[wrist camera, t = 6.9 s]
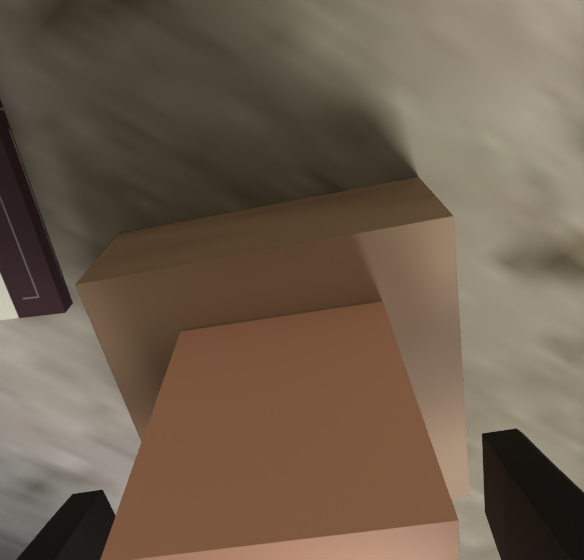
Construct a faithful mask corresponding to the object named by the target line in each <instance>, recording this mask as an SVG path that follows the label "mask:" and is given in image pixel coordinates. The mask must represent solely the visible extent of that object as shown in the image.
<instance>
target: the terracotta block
mask: <svg viewBox="0 0 584 560" xmlns="http://www.w3.org/2000/svg"><path fill="white" fill-rule="evenodd" d="M100 560H460V550H459V521H458V518H457V515H456V512H455V509H454V506H453V503H452V500H451V497H450V495H449V492H448V489H447V486H446V483H445V480H444V477H443V474H442V471H441V469H440V466H439V463H438V460H437V457H436V454H435V451H434V448H433V445H432V443H431V440H430V437H429V434H428V431H427V428H426V425H425V422H424V420H423V417H422V414H421V411H420V408H419V405H418V402H417V399H416V396H415V394H414V391H413V388H412V385H411V382H410V379H409V376H408V373H407V370H406V368H405V365H404V362H403V359H402V356H401V353H400V350H399V347H398V345H397V342H396V339H395V336H394V333H393V330H392V327H391V324H390V321H389V319H388V316H387V313H386V310H385V307H384V304H383V301H381V302H374V303H367V304H361V305H354V306H347V307H340V308H334V309H327V310H320V311H314V312H307V313H300V314H294V315H287V316H280V317H273V318H267V319H260V320H253V321H247V322H240V323H233V324H227V325H220V326H213V327H206V328H200V329H193V330H186V331H180V334H179V337H178V340H177V343H176V345H175V348H174V351H173V354H172V357H171V360H170V363H169V365H168V368H167V371H166V374H165V377H164V380H163V383H162V385H161V388H160V391H159V394H158V397H157V400H156V403H155V405H154V408H153V411H152V414H151V417H150V420H149V422H148V425H147V428H146V431H145V434H144V437H143V440H142V442H141V445H140V448H139V451H138V454H137V457H136V460H135V462H134V465H133V468H132V471H131V474H130V477H129V479H128V482H127V485H126V488H125V491H124V494H123V497H122V499H121V502H120V505H119V508H118V511H117V514H116V517H115V519H114V522H113V525H112V528H111V531H110V534H109V536H108V539H107V542H106V545H105V548H104V551H103V554H102V556H101V559H100Z"/></svg>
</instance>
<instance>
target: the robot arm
mask: <svg viewBox="0 0 584 560" xmlns="http://www.w3.org/2000/svg"><path fill="white" fill-rule="evenodd" d="M482 445H483V472H484V498H485V513H486V516H487V519H488V522H489V525H490V528H491V531H492V534H493V537H494V540H495V543H496V546H497V549H498V552H499V555H500V557H501V560H584V492H583V491H582V490H581V489H580V488H579V487H577V486H576V485H575V484H574V483H573V482H572V481H571V480H570V479H569V478H568V477H567V476H566V475H565V474H564V473H563V472H562V471H561V470H559V469H558V468H557V467H556V466H555V465H554V464H553V463H552V462H551V461H550V460H549V459H548V458H547V457H546V456H545V455H544V454H543V453H542V452H541V451H540V450H539V449H538V448H537V447H536V446H535V445H534V444H533V443H532V442H531V441H530V440H529V439H528V438H527V437H526V436H525V435H524V434H523V433H522V432H520V431H519V430H518V429H510V430H504V431H497V432H490V433H483V434H482ZM115 517H116V516H115V514H114V512H113V510H112V508H111V506H110V504H109V502H108V500H107V498H106V496H105V494H104V492H103V490H98V491H91V492H84V493H77V494H72V495H71V497H70V498H69V499H68V500H67V501H66V502H65V503H64V504H63V505H62V507H61V508H60V509H59V510H58V511H57V512H56V514H55V515H54V516H53V517H52V518H51V519H50V521H49V522H48V523H47V524H46V525H45V526H44V528H43V529H42V530H41V531H40V532H39V534H38V535H37V536H36V537H35V538H34V540H33V541H32V542H31V543H30V544H29V545H28V547H27V548H26V549H25V550H24V551H23V553H22V554H21V555H20V556H19V557H18V558H17V560H100V559H101V556H102V554H103V551H104V548H105V545H106V542H107V539H108V536H109V534H110V531H111V528H112V525H113V522H114V519H115Z"/></svg>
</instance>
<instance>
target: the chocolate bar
mask: <svg viewBox="0 0 584 560" xmlns="http://www.w3.org/2000/svg"><path fill="white" fill-rule="evenodd" d="M72 304H73V302H72V300H71V297H70V294H69V291H68V288H67V286H66V283H65V280H64V277H63V274H62V272H61V269H60V266H59V263H58V260H57V257H56V255H55V252H54V249H53V246H52V243H51V241H50V238H49V235H48V232H47V229H46V227H45V224H44V221H43V218H42V215H41V213H40V210H39V207H38V204H37V201H36V198H35V196H34V193H33V190H32V187H31V184H30V182H29V179H28V176H27V173H26V170H25V168H24V165H23V162H22V159H21V156H20V154H19V151H18V148H17V145H16V142H15V139H14V137H13V134H12V131H11V128H10V125H9V123H8V120H7V117H6V114H5V111H4V109H3V106H2V103H1V100H0V320H5V319H14V318H23V317H32V316H41V315H49V314H58V313H65V312H66V311H67V310H68V309H69V307H70V306H71V305H72Z"/></svg>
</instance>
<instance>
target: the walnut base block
mask: <svg viewBox="0 0 584 560" xmlns="http://www.w3.org/2000/svg"><path fill="white" fill-rule="evenodd" d="M76 287H77V290H78V292H79V295H80V297H81V299H82V302H83V304H84V306H85V309H86V311H87V314H88V316H89V318H90V321H91V323H92V325H93V328H94V330H95V333H96V335H97V337H98V340H99V342H100V344H101V347H102V349H103V352H104V354H105V356H106V359H107V361H108V363H109V366H110V368H111V370H112V373H113V375H114V378H115V380H116V382H117V385H118V387H119V389H120V392H121V394H122V397H123V399H124V401H125V404H126V406H127V408H128V411H129V413H130V416H131V418H132V420H133V423H134V425H135V427H136V430H137V432H138V435H139V437H140V439H141V442H142V440H143V437H144V434H145V431H146V428H147V425H148V422H149V420H150V417H151V414H152V411H153V408H154V405H155V403H156V400H157V397H158V394H159V391H160V388H161V385H162V383H163V380H164V377H165V374H166V371H167V368H168V365H169V363H170V360H171V357H172V354H173V351H174V348H175V345H176V343H177V340H178V337H179V334H180V331H186V330H193V329H200V328H206V327H213V326H220V325H227V324H233V323H240V322H247V321H253V320H260V319H267V318H273V317H280V316H287V315H294V314H300V313H307V312H314V311H320V310H327V309H334V308H340V307H347V306H354V305H361V304H367V303H374V302H381V301H383V304H384V307H385V310H386V313H387V316H388V319H389V321H390V324H391V327H392V330H393V333H394V336H395V339H396V342H397V345H398V347H399V350H400V353H401V356H402V359H403V362H404V365H405V368H406V370H407V373H408V376H409V379H410V382H411V385H412V388H413V391H414V394H415V396H416V399H417V402H418V405H419V408H420V411H421V414H422V417H423V420H424V422H425V425H426V428H427V431H428V434H429V437H430V440H431V443H432V445H433V448H434V451H435V454H436V457H437V460H438V463H439V466H440V469H441V471H442V474H443V477H444V480H445V483H446V486H447V489H448V492H449V495H450V497H451V498H458V497H466V496H470V492H469V474H468V457H467V440H466V423H465V406H464V388H463V371H462V354H461V337H460V320H459V302H458V285H457V268H456V251H455V234H454V216H453V215H452V214H451V213H450V212H449V211H448V209H447V208H446V207H445V206H444V205H443V204H442V203H441V202H440V200H439V199H438V198H437V197H436V196H435V195H434V194H433V193H432V191H431V190H430V189H429V188H428V187H427V186H426V185H425V184H424V183H423V181H422V180H421V179H420V178H419V177H415V178H410V179H405V180H399V181H394V182H389V183H383V184H378V185H373V186H367V187H362V188H357V189H352V190H346V191H341V192H336V193H330V194H325V195H320V196H314V197H309V198H304V199H299V200H293V201H288V202H283V203H277V204H272V205H267V206H261V207H256V208H251V209H246V210H240V211H235V212H230V213H224V214H219V215H214V216H208V217H203V218H198V219H193V220H187V221H182V222H177V223H171V224H166V225H161V226H155V227H150V228H145V229H139V230H134V231H129V232H124V233H119V234H118V235H117V236H116V237H115V238H114V239H113V241H112V242H111V243H110V244H109V245H108V247H107V248H106V249H105V250H104V251H103V253H102V254H101V255H100V256H99V257H98V258H97V260H96V261H95V262H94V263H93V264H92V266H91V267H90V268H89V269H88V270H87V272H86V273H85V274H84V275H83V276H82V277H81V279H80V280H79V281H78V282H77V283H76Z"/></svg>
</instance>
